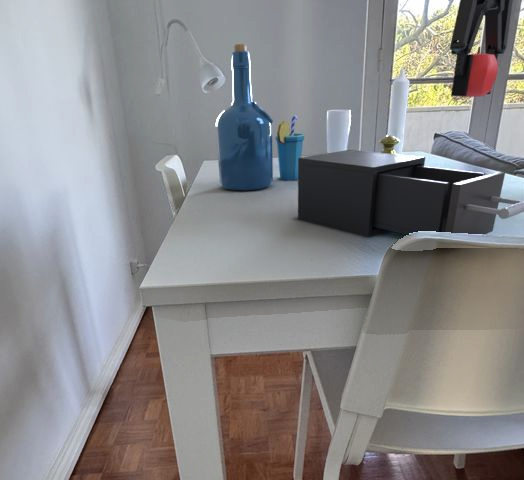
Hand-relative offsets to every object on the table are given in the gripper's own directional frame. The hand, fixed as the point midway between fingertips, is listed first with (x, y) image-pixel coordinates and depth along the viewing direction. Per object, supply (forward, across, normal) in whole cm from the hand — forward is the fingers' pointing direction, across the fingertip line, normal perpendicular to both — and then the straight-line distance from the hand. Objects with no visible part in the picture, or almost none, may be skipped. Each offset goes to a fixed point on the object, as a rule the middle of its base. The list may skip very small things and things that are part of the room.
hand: (471, 94), depth 90 cm
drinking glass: (+20, -16, -49) cm, 55 cm away
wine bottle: (+20, +22, -44) cm, 53 cm away
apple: (0, 0, 0) cm, 0 cm away
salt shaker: (+20, -10, -26) cm, 34 cm away
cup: (+20, +7, -44) cm, 49 cm away
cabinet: (+19, +27, -3) cm, 34 cm away
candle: (+20, -26, -36) cm, 49 cm away
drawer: (+18, +27, +15) cm, 36 cm away
